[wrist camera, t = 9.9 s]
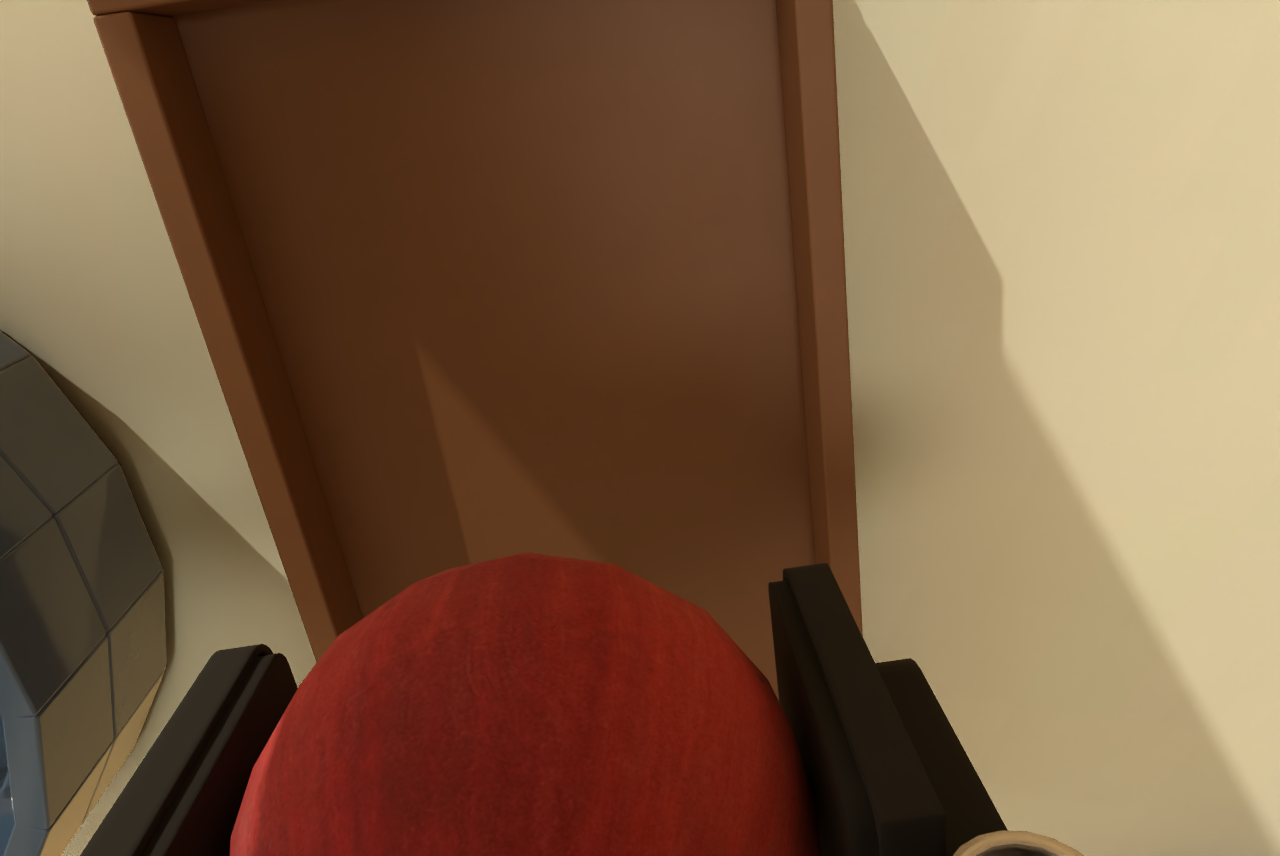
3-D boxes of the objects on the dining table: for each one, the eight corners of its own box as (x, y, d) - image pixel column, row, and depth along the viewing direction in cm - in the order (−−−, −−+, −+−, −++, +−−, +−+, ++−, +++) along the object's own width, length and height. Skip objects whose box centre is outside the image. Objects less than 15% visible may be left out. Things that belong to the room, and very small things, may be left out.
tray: (143, -16, 15) (74, -29, 13) (796, -115, 15) (827, -144, 13) (412, 819, 22) (394, 891, 20) (847, 757, 22) (872, 823, 20)
